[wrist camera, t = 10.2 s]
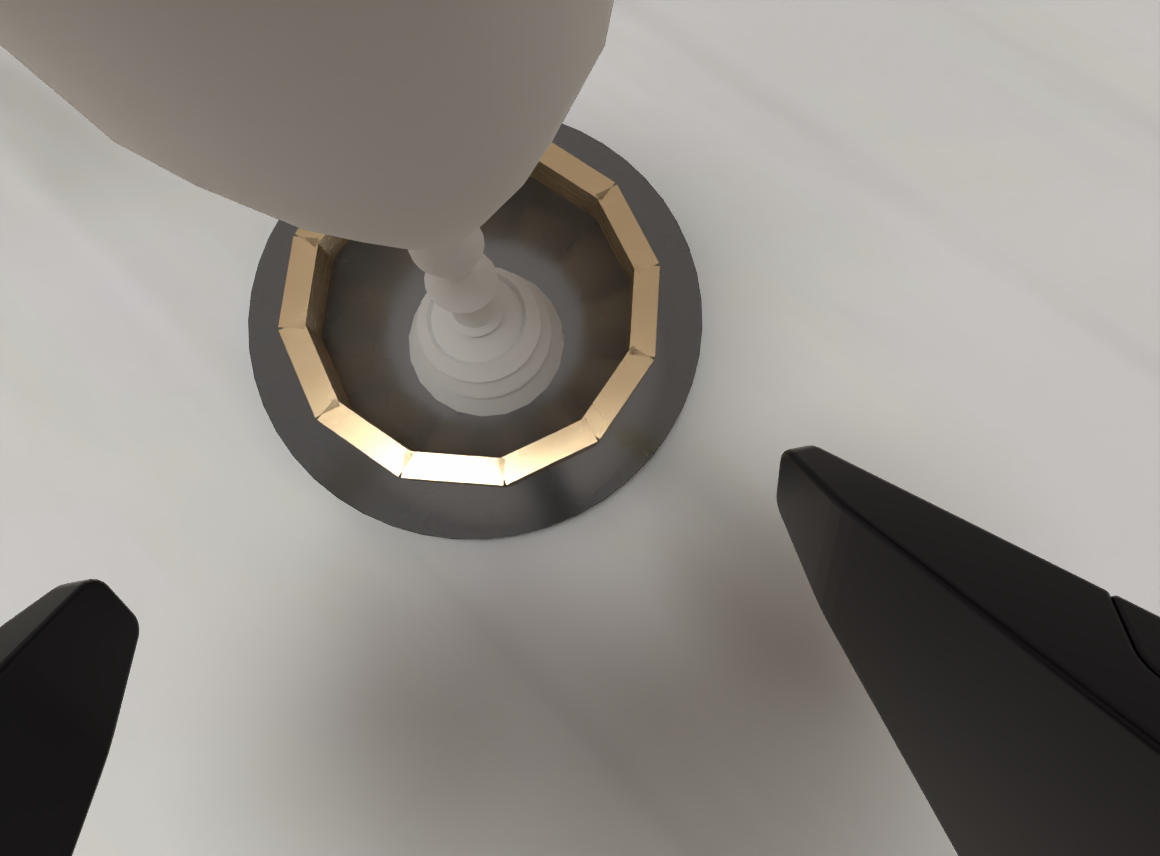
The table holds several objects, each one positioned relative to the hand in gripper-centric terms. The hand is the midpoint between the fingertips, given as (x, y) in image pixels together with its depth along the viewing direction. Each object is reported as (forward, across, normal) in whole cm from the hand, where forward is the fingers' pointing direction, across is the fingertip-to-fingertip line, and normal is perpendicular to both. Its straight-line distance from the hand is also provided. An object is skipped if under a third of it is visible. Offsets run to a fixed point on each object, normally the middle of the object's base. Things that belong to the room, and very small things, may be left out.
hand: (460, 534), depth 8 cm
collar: (+13, 0, +3) cm, 13 cm away
